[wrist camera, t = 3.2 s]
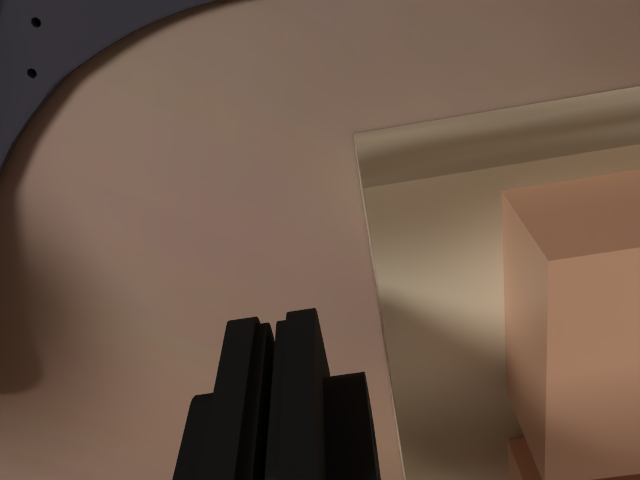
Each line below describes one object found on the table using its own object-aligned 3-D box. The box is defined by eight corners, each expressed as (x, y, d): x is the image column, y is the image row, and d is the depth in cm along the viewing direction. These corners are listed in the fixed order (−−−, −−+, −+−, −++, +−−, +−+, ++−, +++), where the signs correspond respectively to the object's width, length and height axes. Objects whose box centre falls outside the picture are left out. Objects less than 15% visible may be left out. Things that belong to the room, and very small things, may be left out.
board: (353, 133, 14) (363, 188, 11) (763, 65, 13) (877, 105, 11) (408, 507, 20) (423, 598, 17) (688, 472, 19) (747, 561, 17)
